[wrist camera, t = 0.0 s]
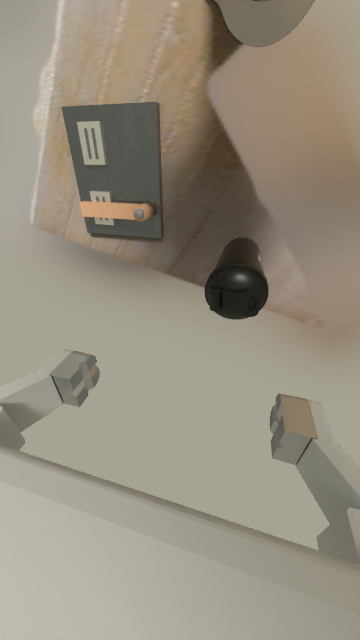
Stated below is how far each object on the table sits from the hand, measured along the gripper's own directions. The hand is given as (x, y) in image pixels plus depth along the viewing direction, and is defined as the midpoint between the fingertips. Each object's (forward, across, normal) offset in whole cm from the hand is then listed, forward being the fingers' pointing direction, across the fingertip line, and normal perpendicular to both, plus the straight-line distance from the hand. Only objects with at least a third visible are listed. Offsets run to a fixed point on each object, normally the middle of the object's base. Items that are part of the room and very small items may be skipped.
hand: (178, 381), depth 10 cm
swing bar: (+46, +27, 0) cm, 53 cm away
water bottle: (+48, -2, +9) cm, 49 cm away
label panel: (+48, +27, -6) cm, 55 cm away
